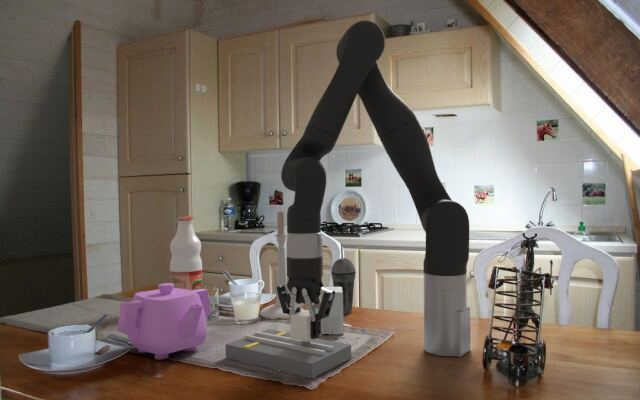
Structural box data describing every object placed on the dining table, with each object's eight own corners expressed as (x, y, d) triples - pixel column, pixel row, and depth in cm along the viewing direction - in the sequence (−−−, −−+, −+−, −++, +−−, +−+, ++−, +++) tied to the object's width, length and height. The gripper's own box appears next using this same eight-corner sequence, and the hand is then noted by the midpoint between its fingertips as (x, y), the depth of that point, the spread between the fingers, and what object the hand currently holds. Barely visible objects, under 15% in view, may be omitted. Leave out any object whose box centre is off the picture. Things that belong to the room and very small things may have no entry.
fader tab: (320, 345, 111) (320, 312, 110) (306, 351, 106) (306, 317, 106) (305, 342, 113) (305, 309, 113) (291, 348, 109) (290, 314, 109)
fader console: (351, 358, 112) (351, 341, 112) (312, 379, 100) (312, 359, 100) (268, 341, 125) (268, 325, 125) (225, 358, 113) (225, 340, 113)
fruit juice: (172, 306, 163) (169, 216, 162) (203, 305, 165) (201, 215, 164) (169, 314, 154) (167, 218, 153) (202, 312, 156) (200, 217, 155)
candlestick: (313, 311, 154) (311, 209, 153) (287, 321, 143) (285, 211, 142) (277, 306, 161) (276, 208, 160) (250, 315, 150) (248, 210, 149)
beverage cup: (360, 310, 155) (359, 242, 154) (351, 316, 148) (350, 245, 148) (337, 308, 158) (336, 241, 157) (327, 313, 151) (326, 244, 151)
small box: (343, 335, 130) (343, 292, 129) (321, 335, 130) (320, 292, 129) (343, 326, 138) (342, 286, 137) (321, 326, 138) (320, 286, 137)
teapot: (202, 362, 111) (201, 290, 111) (113, 365, 110) (112, 293, 109) (213, 336, 130) (212, 275, 130) (137, 339, 129) (136, 277, 128)
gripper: (343, 254, 108) (344, 337, 109) (288, 250, 116) (290, 327, 117) (322, 258, 102) (323, 346, 102) (266, 254, 110) (267, 335, 111)
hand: (305, 336), depth 110 cm, fingers closed on fader tab, 4 cm apart
